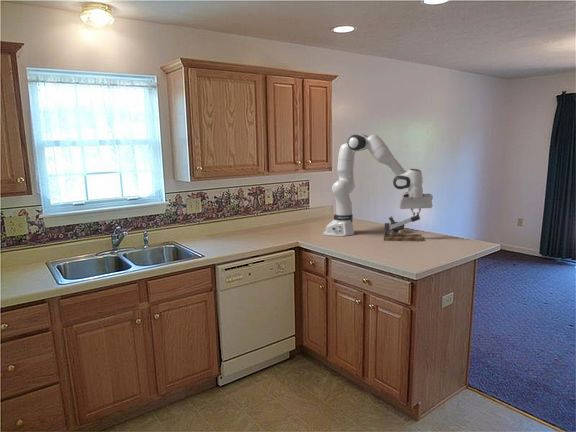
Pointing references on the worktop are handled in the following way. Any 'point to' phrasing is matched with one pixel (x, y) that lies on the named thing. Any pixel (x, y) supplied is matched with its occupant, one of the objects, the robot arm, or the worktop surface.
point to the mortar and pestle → (396, 229)
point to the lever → (405, 222)
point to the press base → (400, 238)
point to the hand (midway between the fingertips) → (416, 215)
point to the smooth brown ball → (401, 232)
